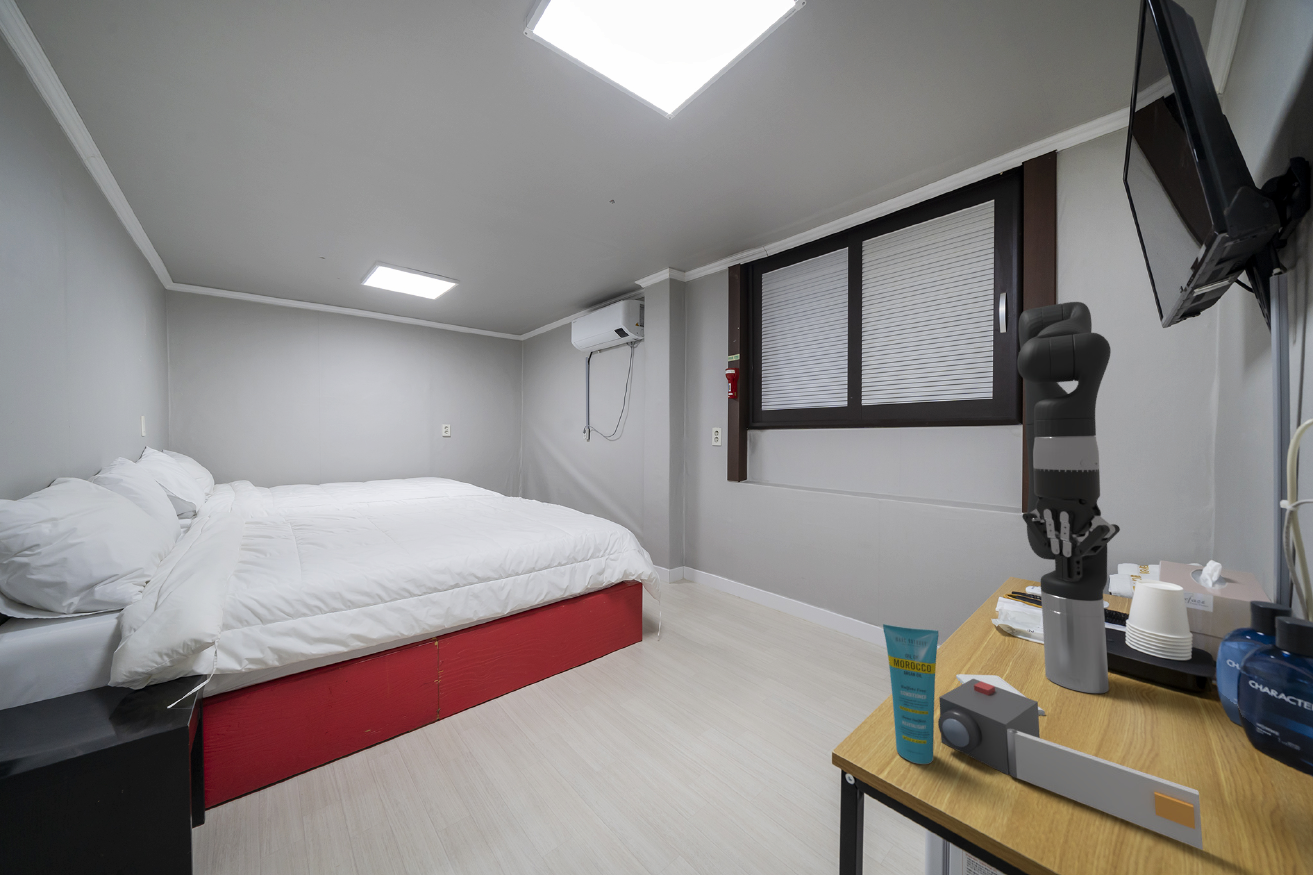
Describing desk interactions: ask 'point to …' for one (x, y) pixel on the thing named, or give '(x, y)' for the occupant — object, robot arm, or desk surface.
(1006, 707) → the camera body
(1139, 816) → the door
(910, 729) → the tube
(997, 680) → the external hard drive
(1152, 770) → the desk surface
